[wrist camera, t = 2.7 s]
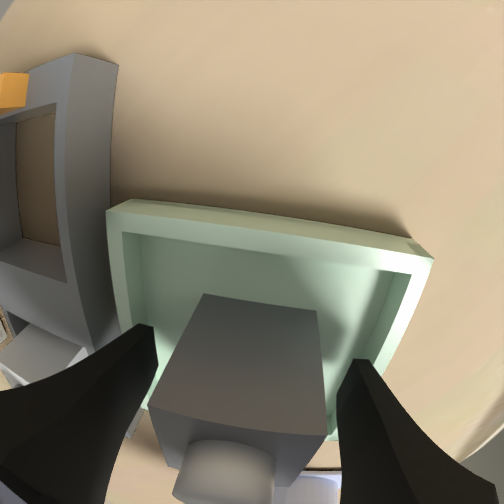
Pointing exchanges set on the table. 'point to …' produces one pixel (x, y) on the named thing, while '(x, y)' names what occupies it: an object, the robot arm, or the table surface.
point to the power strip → (62, 205)
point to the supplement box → (2, 333)
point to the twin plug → (37, 356)
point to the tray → (265, 278)
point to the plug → (241, 401)
